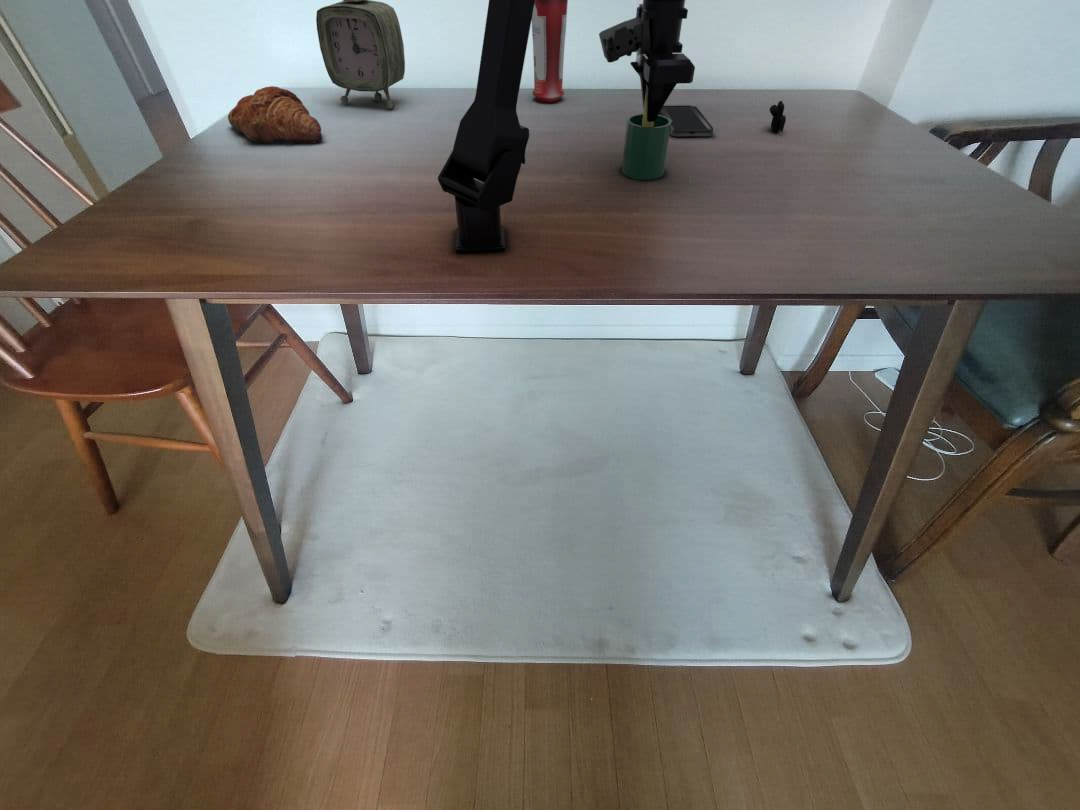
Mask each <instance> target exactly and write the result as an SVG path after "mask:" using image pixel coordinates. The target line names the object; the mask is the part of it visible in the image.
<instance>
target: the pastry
mask: <svg viewBox="0 0 1080 810" xmlns="http://www.w3.org/2000/svg"><path fill="white" fill-rule="evenodd" d="M227 121H228V123H229V124H230V126H231V127H232V128H233V129H235V130H236V131H237V132H239V133H240V134H241V135H244V136H245V137H246V138H247V139H248V140H250V141H251V142H253V143H257V144H258V143H259V144H267V143H269V144H271V143H272V144H273V143H278V142H279V143H280V142H288V143H308V144H310V143H311V144H312V143H317V142H321V141H322V140H323V136H322V127H321V124H320V122H319V121H318V120H317V119H316V118H315V117H313V116H311V114H310V112H309V110H308V109H307V108H306V106H305V105H304V104H303V101H302V100H301V99H300V98H299V97H298V96H297V94H295V93H294V92H292V91H291V90H289V89H285V88H281V87H278V86H274V85H272V86H265V87H262V88H259V89H256V90H255V92H254V93H253V94H248V95H246V96H243V97H241V98H240V99H239V100H238V102H237V103H236V105H235V106H234V107H233V108H232V109H231V110H230V111H229V113H228V114H227Z"/></svg>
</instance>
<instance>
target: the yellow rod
mask: <svg viewBox="0 0 1080 810" xmlns="http://www.w3.org/2000/svg"><path fill="white" fill-rule="evenodd" d="M642 114H643V120H642V126H644V127H653V125H654V122H648V121H647V107H646V95H645V103H644V110H643V113H642Z"/></svg>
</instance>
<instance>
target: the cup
mask: <svg viewBox="0 0 1080 810" xmlns="http://www.w3.org/2000/svg"><path fill="white" fill-rule="evenodd" d="M642 120H643V113H637V114H633V115H630V116H628V118H627V119H626V125H625V127H626V128H625V134H624V135H625V136H624V146H623V155H622V156H623V158H622V165H621V166H622V169H621V171H622V174H623V175H624V176H626V177H628V178H631V179H634V180H638V181H652V180H657V179H659V178H662V176H663V175H664V173H665V168H666V161H667V155H668V150H669V149H668V148H669V142H670V141H669V140H670V135H671V134H670V129H671V120H670V119H669V118H667V117H665V116H661V115H659V114H658V116H657V118H656V119H655V121H654V125H653V127H644V126H642Z"/></svg>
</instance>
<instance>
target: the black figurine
mask: <svg viewBox="0 0 1080 810" xmlns="http://www.w3.org/2000/svg"><path fill="white" fill-rule="evenodd" d="M784 112H785V104H784V103H783V100H779V101H778V102H777V104H772V105H771V106H770V107H769V113H770V114H771V117H772V119H771V123H770V128H771V130H772V132H773V133H779V132H781V133H783V132H784V129H785V126H786V125H785V124H786V122H787V117H786V115H784Z"/></svg>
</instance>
